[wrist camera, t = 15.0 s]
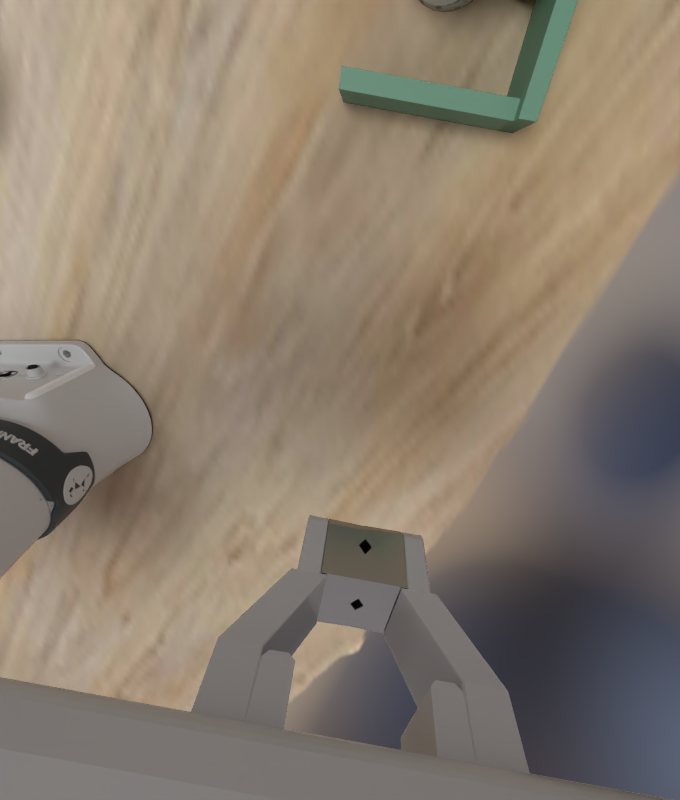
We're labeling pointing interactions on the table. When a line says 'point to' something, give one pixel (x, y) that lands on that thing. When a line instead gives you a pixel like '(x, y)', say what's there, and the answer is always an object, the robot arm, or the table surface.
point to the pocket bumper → (473, 105)
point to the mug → (445, 4)
